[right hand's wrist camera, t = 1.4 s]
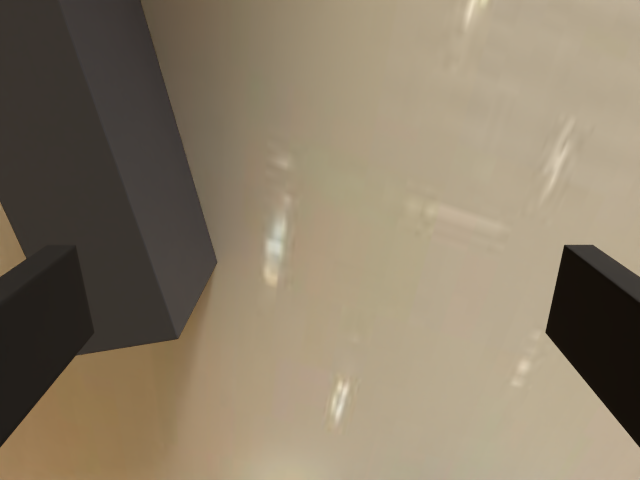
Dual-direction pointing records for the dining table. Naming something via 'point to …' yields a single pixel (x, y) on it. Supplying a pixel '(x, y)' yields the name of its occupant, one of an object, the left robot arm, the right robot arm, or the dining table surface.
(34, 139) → the box
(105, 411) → the dining table surface
